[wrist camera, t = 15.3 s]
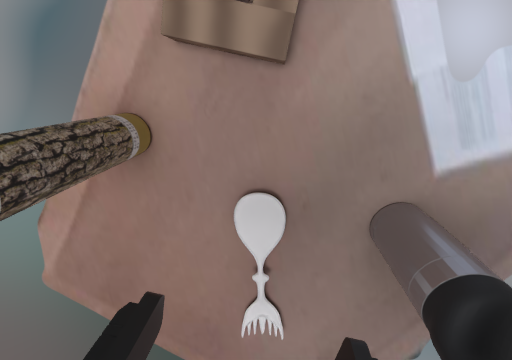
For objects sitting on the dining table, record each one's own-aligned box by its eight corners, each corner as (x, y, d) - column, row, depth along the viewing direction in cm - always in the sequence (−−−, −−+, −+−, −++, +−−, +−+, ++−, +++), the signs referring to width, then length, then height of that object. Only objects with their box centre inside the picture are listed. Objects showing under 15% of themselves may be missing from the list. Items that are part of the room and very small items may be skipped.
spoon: (242, 325, 55) (240, 340, 52) (233, 187, 44) (230, 195, 41) (284, 327, 54) (284, 342, 51) (286, 188, 43) (286, 196, 40)
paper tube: (119, 104, 41) (-98, 128, 17) (158, 126, 41) (0, 177, 18) (107, 140, 43) (-100, 206, 19) (144, 160, 43) (-13, 246, 20)
